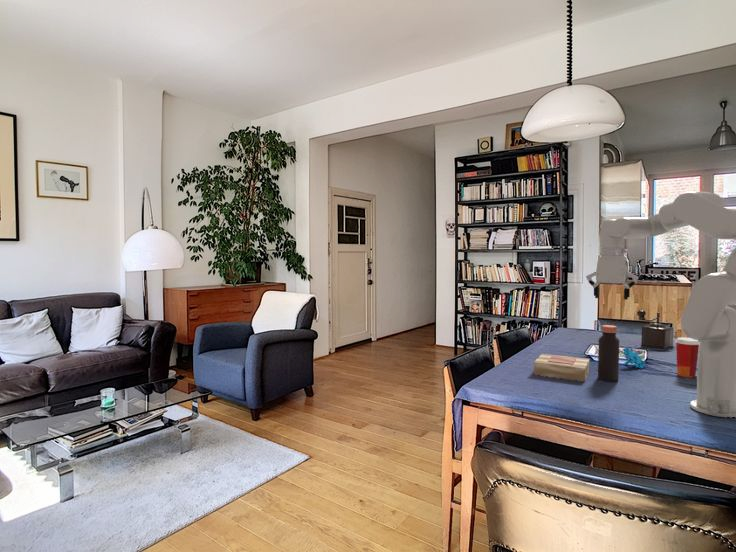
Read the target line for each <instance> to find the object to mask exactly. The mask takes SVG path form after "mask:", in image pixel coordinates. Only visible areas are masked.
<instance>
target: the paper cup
mask: <svg viewBox="0 0 736 552" xmlns="http://www.w3.org/2000/svg"><path fill="white" fill-rule="evenodd" d="M674 342H675V346H676V348H675V349H676V351H675V353H676V369H677V370H676V372H677V375H678V376H679V377H683V378H695V377H696V376H697V375H696V374H697V368H698V351H699V345H700V340H695V339H692V338H690V337H677V338H676V339H675V341H674Z"/></svg>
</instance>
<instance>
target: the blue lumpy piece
mask: <svg viewBox="0 0 736 552" xmlns="http://www.w3.org/2000/svg"><path fill="white" fill-rule="evenodd" d="M622 351H623V352H622V353H623V355H624V356H625V357H624V358H625V359H626V360H627V361H625V362H624V363H623V364H624V365H625V366H627V365H629V364H630V365H634V367H635V368H639V369H642V370H643V369H644V368H645V367H646V365H645V363H646V361H644V360H643V359H644V356H643V355H639V352H638V351H635V350H634V349H633V348H630V347H629V346H626V347H624V348H623V349H622ZM633 363H635V364H633Z"/></svg>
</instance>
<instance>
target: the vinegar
mask: <svg viewBox="0 0 736 552" xmlns="http://www.w3.org/2000/svg"><path fill="white" fill-rule="evenodd" d="M617 331H618V327H617V326H616V325H612V324H611V325H610V324H603V325H601V333H602V335H601V336H599V338H598V349H597V350H598V355H597V356H598V358H597V361H598V363H597V379H599V380H601V381H605V382H617V381H619V374H620V373H619V369H620V368H619V367H620V339H619V338H618V336H616V334H617Z"/></svg>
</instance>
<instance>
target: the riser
mask: <svg viewBox="0 0 736 552" xmlns="http://www.w3.org/2000/svg"><path fill="white" fill-rule="evenodd" d="M590 361H591V359H590V358H584V357H577V356H576V357H574V356H566V355H559V354H558V355H557V354H549V353H541V354H539V356H538V357H537V358H536V359H535V361H533V376H538V375H540V377H546V376H548V378H553V377H556V378H555V379H560V378H563V379H562V380H568V379H569V380H570V381H575V380H577V381H576V382H583V381H584V383H585V382H586V380H587V379H588V378H587V377H588V375H589V374H590V369H591V367H590V364H591V362H590ZM569 380H568V381H569Z"/></svg>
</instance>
